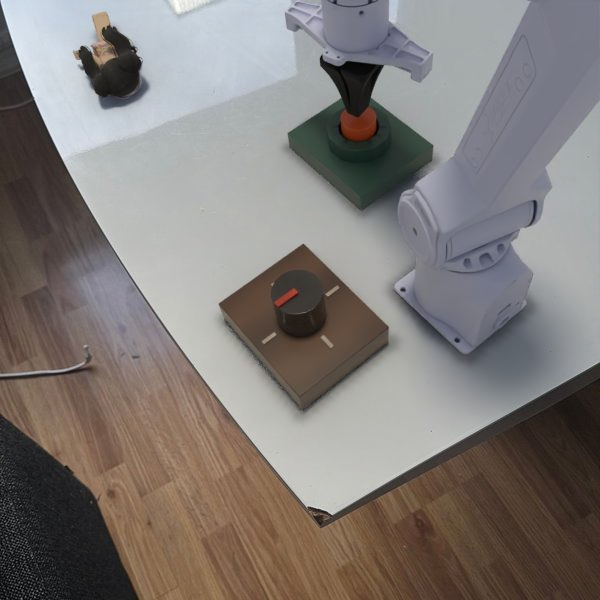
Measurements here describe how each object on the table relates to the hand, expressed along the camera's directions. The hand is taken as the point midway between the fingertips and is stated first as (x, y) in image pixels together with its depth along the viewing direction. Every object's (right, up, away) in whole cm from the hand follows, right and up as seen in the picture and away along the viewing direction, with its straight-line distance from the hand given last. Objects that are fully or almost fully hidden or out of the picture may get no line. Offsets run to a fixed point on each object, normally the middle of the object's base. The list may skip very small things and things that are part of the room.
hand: (358, 109), depth 66 cm
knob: (-6, -20, -7) cm, 22 cm away
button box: (+1, -3, +5) cm, 6 cm away
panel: (-5, -22, -5) cm, 23 cm away
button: (0, -1, +2) cm, 3 cm away
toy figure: (-29, +10, +17) cm, 35 cm away
